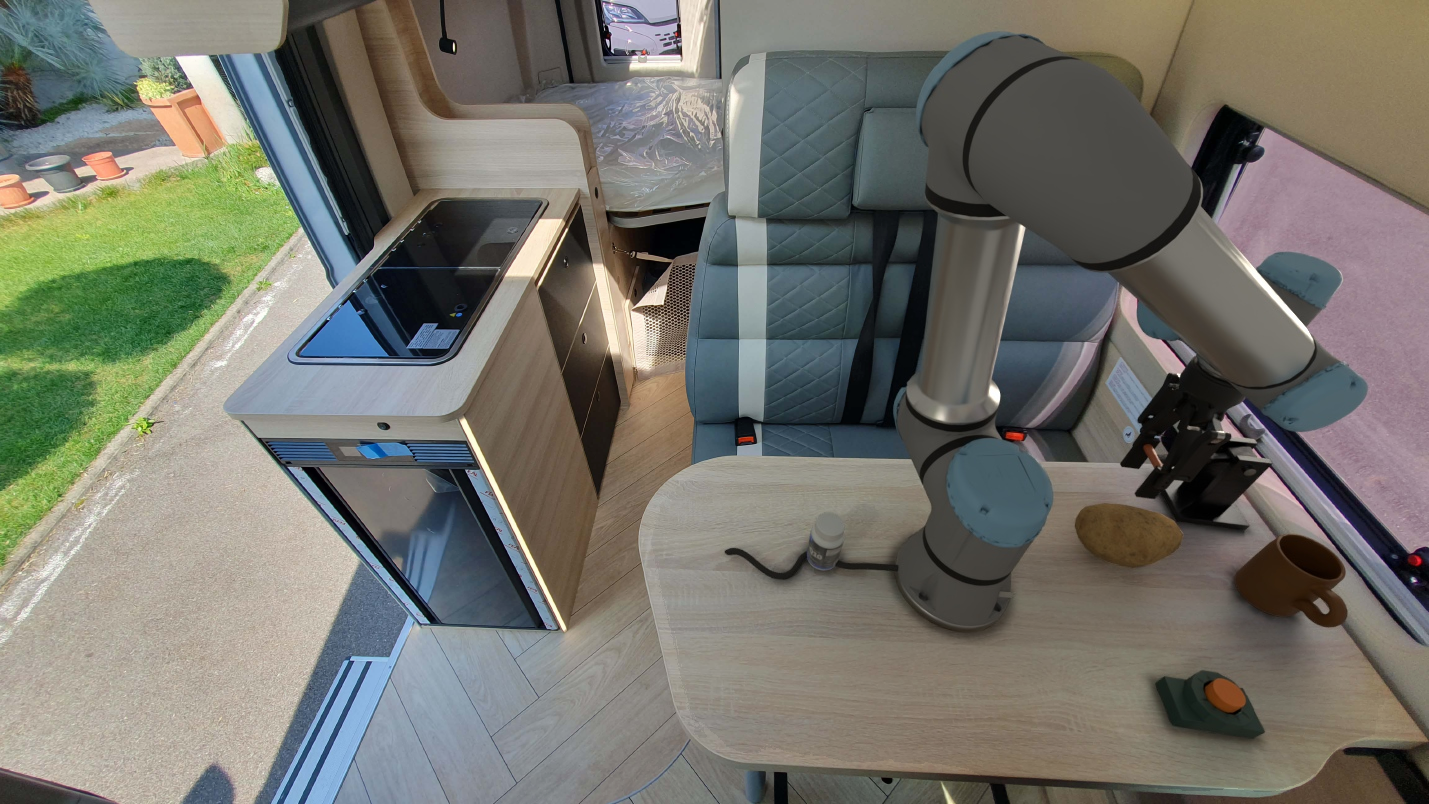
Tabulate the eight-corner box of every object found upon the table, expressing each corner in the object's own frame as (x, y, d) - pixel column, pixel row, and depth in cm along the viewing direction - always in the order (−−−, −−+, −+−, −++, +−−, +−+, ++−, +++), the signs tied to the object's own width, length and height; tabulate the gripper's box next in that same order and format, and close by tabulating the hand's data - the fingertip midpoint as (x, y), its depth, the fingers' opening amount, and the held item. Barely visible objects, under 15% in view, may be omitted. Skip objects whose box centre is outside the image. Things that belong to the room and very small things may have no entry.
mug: (1330, 654, 75) (1388, 619, 69) (1267, 646, 76) (1318, 610, 70) (1277, 573, 84) (1324, 535, 78) (1221, 566, 85) (1263, 528, 78)
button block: (1173, 730, 68) (1192, 718, 65) (1152, 678, 73) (1169, 664, 70) (1256, 744, 67) (1279, 732, 64) (1229, 690, 72) (1250, 676, 69)
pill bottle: (799, 549, 86) (806, 515, 80) (827, 539, 87) (835, 505, 82) (816, 576, 83) (824, 542, 77) (844, 564, 84) (854, 530, 78)
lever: (1154, 478, 88) (1159, 467, 86) (1140, 451, 92) (1144, 441, 90) (1257, 476, 84) (1264, 465, 83) (1238, 449, 88) (1244, 438, 87)
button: (1212, 710, 66) (1221, 704, 65) (1199, 682, 69) (1207, 676, 68) (1242, 715, 66) (1251, 709, 65) (1228, 686, 68) (1237, 680, 67)
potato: (1177, 583, 82) (1210, 552, 77) (1076, 575, 83) (1101, 543, 78) (1146, 527, 90) (1174, 495, 84) (1053, 519, 91) (1075, 487, 85)
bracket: (1176, 521, 91) (1225, 467, 82) (1152, 478, 97) (1196, 424, 89) (1245, 530, 90) (1302, 476, 81) (1216, 486, 96) (1267, 431, 88)
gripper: (1298, 418, 69) (1187, 532, 85) (1222, 330, 83) (1139, 442, 99) (1231, 411, 70) (1133, 525, 86) (1166, 325, 84) (1092, 437, 99)
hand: (1136, 480), depth 92 cm, fingers closed on lever, 5 cm apart
